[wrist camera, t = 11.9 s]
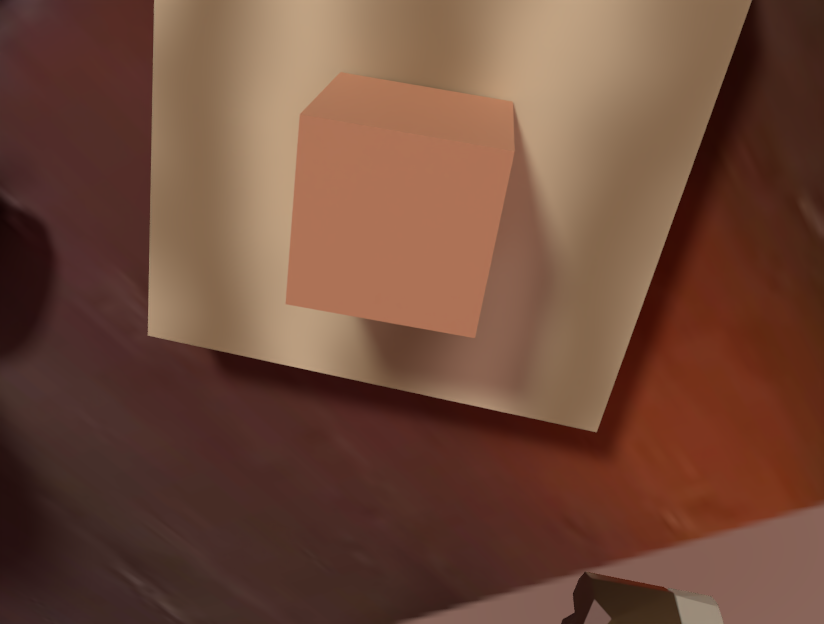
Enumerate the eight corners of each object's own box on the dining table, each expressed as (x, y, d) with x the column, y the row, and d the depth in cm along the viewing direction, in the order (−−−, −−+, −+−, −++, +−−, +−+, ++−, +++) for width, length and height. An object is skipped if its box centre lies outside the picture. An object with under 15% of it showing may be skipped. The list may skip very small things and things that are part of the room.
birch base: (189, 286, 31) (148, 335, 27) (212, -184, 23) (158, -201, 20) (587, 371, 30) (596, 432, 27) (739, -78, 23) (779, -77, 19)
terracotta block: (324, 232, 25) (285, 304, 20) (340, 71, 22) (299, 114, 18) (480, 259, 25) (474, 337, 20) (512, 101, 22) (514, 151, 18)
